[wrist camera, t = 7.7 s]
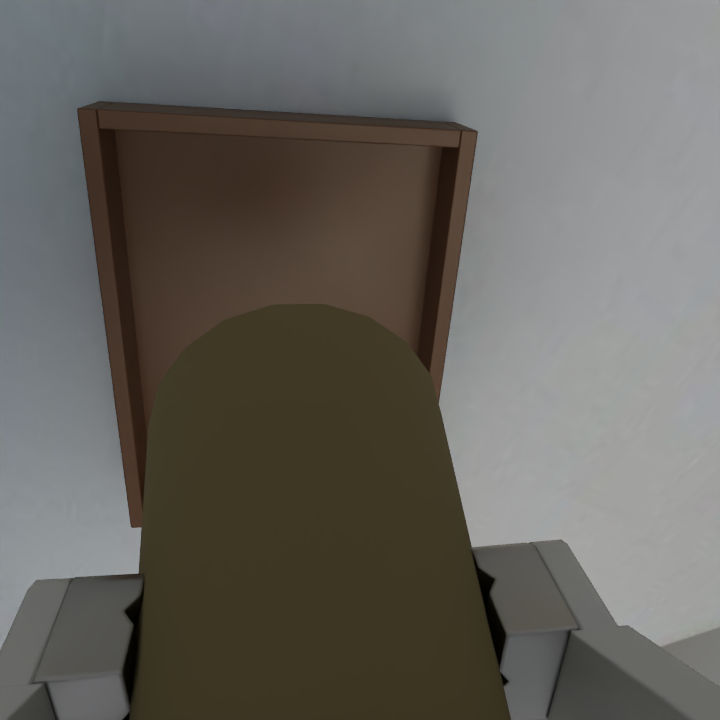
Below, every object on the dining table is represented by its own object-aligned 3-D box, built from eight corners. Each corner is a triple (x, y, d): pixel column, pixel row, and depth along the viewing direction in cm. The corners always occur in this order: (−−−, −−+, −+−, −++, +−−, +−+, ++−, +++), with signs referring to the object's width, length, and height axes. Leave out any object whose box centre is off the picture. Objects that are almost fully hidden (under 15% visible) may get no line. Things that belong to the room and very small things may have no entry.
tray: (142, 488, 29) (130, 528, 27) (97, 100, 22) (76, 107, 19) (410, 479, 31) (422, 516, 29) (456, 122, 24) (478, 131, 21)
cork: (296, 235, 11) (551, 1824, 1) (496, 427, 13) (1108, 1441, 4) (83, 448, 12) (-629, 2008, 2) (301, 586, 15) (369, 1634, 5)
